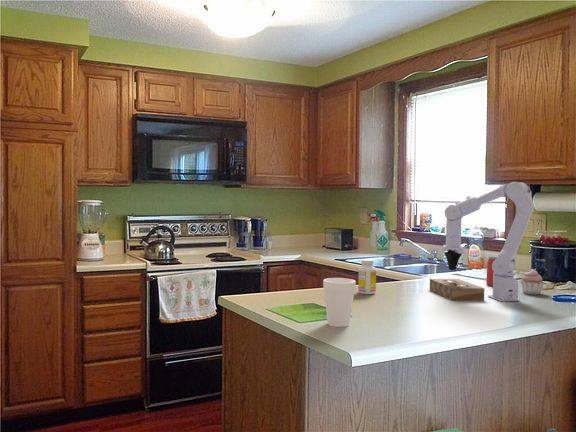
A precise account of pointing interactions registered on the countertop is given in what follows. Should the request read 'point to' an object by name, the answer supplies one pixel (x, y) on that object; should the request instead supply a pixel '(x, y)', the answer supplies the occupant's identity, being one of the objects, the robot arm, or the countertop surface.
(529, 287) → the cupcake
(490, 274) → the beer can
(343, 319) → the foam cup
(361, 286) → the supplement bottle
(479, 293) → the walnut block
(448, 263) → the robot arm
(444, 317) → the countertop surface
